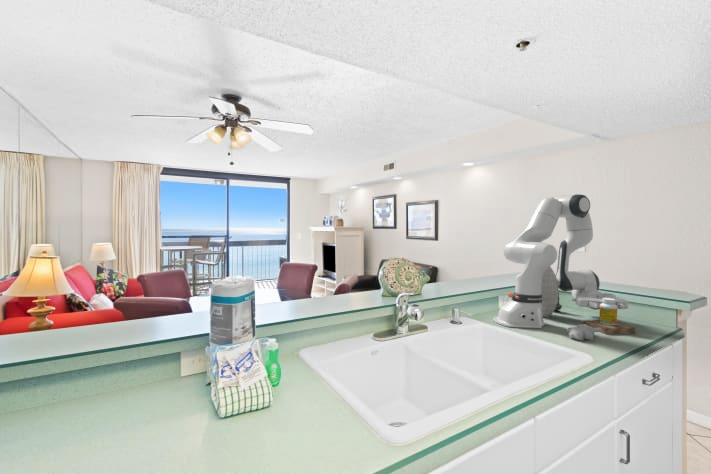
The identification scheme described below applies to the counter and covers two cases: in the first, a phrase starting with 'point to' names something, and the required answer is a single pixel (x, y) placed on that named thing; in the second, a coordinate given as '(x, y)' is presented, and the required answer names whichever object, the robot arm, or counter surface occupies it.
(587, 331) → the bunny figurine
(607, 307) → the supplement bottle
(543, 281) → the vase
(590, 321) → the walnut base
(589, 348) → the counter surface
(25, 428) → the counter surface
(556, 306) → the salt shaker
